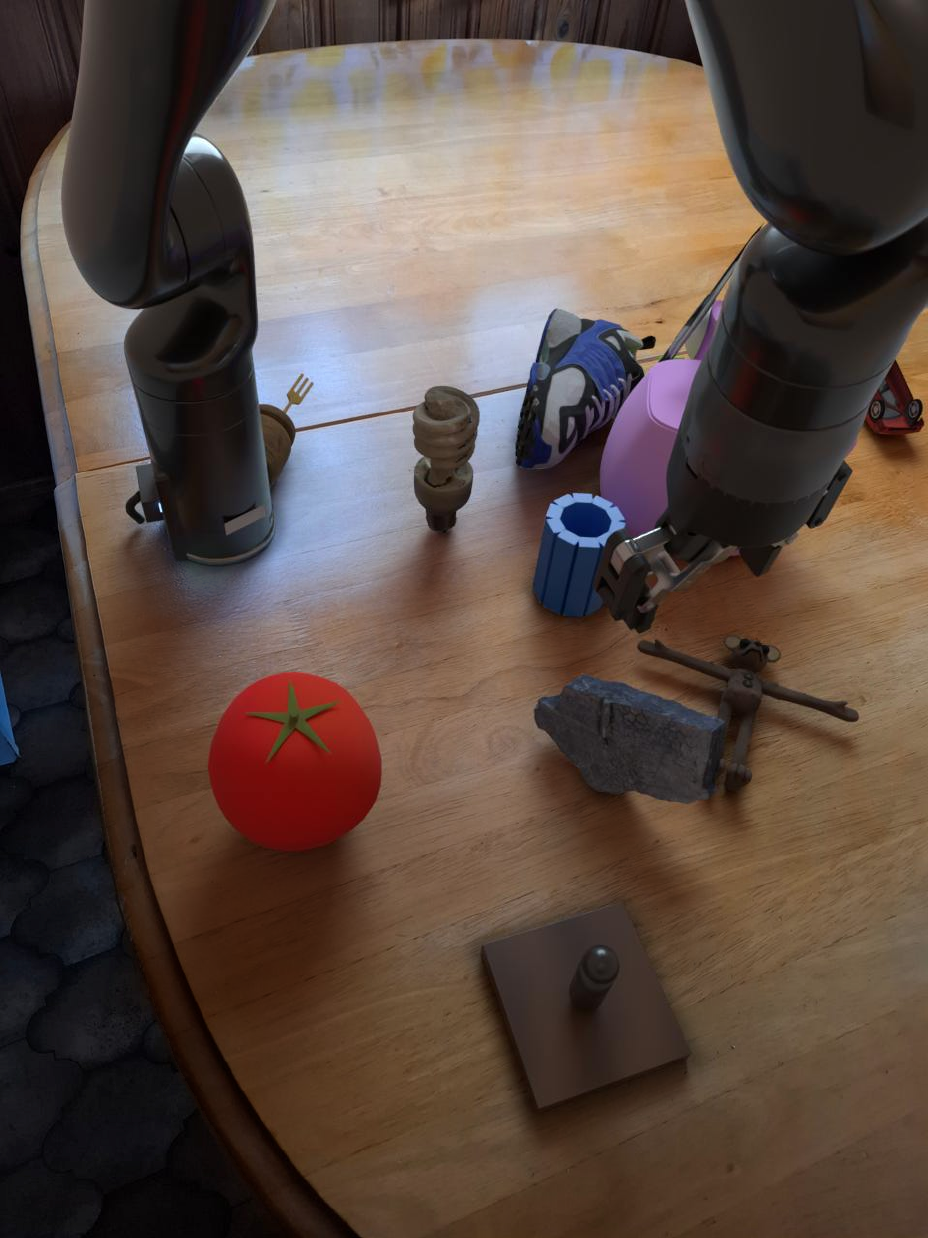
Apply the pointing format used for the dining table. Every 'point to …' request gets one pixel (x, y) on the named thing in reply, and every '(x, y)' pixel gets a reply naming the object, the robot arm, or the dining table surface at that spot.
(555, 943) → the peg stand
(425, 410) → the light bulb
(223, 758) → the tomato
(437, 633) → the dining table surface
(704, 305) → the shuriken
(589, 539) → the blue notched tube
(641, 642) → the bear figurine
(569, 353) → the athletic shoe
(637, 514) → the teapot
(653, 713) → the stone
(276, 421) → the utensil holder
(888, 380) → the toy car
